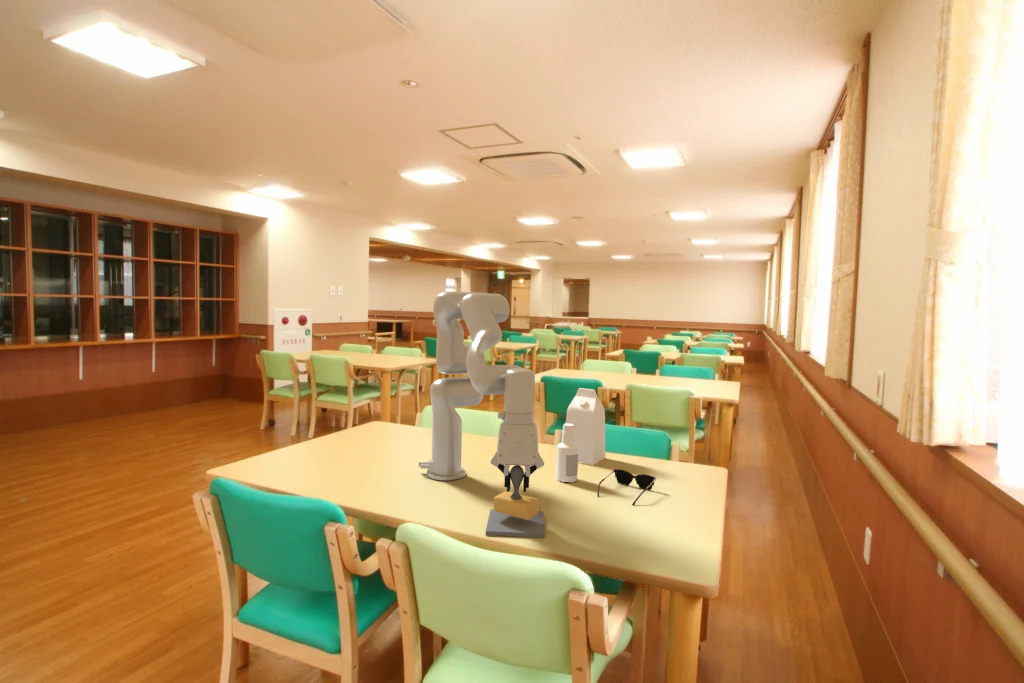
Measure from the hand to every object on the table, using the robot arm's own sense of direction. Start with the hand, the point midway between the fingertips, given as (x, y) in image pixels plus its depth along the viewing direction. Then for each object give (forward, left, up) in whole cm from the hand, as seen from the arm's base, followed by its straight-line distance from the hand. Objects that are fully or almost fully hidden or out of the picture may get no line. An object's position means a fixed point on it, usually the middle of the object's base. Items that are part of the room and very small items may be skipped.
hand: (516, 489), depth 132 cm
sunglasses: (+32, +26, -10) cm, 42 cm away
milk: (+23, +62, -9) cm, 67 cm away
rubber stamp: (0, 0, -6) cm, 6 cm away
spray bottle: (+15, +37, -9) cm, 41 cm away
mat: (0, 0, -9) cm, 9 cm away
